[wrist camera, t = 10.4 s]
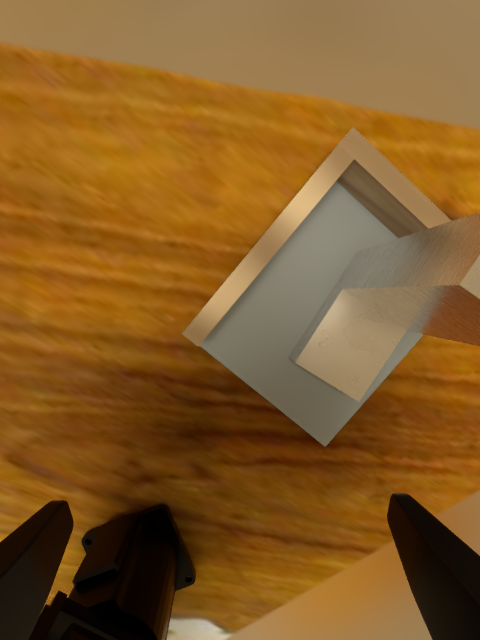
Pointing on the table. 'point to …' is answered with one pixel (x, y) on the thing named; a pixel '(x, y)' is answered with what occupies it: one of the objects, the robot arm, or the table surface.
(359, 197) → the board walls
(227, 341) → the slate board
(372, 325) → the bracket
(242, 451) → the table surface
